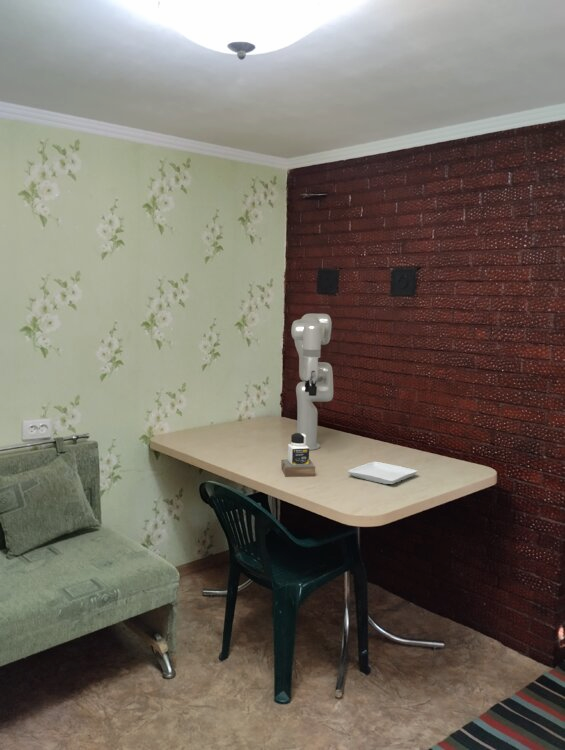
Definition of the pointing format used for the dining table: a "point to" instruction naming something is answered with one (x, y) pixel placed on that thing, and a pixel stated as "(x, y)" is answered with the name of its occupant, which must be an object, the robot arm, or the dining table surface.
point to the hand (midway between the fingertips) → (310, 393)
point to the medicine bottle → (298, 450)
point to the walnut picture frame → (297, 469)
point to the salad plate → (382, 472)
